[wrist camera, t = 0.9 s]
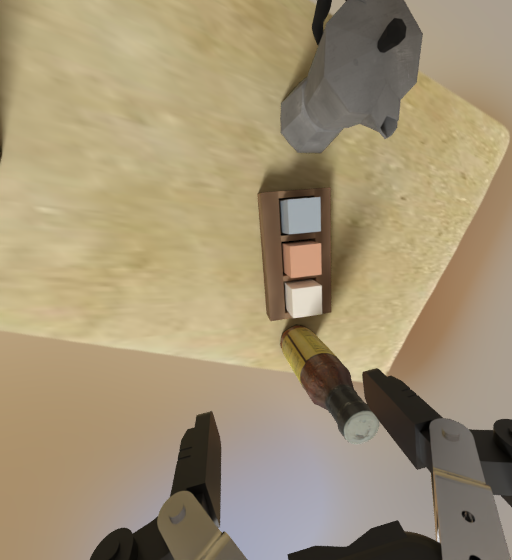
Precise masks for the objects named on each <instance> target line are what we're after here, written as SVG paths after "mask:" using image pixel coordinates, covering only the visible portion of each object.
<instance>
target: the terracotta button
mask: <svg viewBox="0 0 512 560" xmlns="http://www.w3.org/2000/svg"><path fill="white" fill-rule="evenodd" d="M282 249H283V267H284V273H285V274H287V275H288V276H289V277H290V278H298V277H306V276H314V275H322V268H321V243H318V242H314V241H301V242H292V243H282Z"/></svg>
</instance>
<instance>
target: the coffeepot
mask: <svg viewBox="0 0 512 560" xmlns="http://www.w3.org/2000/svg"><path fill="white" fill-rule="evenodd" d="M331 2H332V0H317V5H316V9H315V15H314V19H313V23H312V31H313V34H314V37H315V40H316V42H317V45H318V48H317V51H316V54H315V57H314V59H313V62H312V65H311V68H310V70H309V73H308V76H307V77H306V78H305V79H304V80H302V81H301V82H300V83H299V84H298V85H297V86H296V87H295V89H294V90H293V91H292V92H291V93H290V94H289V95H288V96H287V97H286V99H285V100H284V101H283V102H282V103H281V118H280V120H281V133H282V135H283V136H284V137H285V138H286V140H287V141H288V143H289V144H290V145H291V146H292V147H293V148H294V149H295V150H296V151H297V152H298V153H321V152H322V151H323V150H324V149H325V148H326V147H327V146H328V145H329V144H330V143H331V142H332V141H333V140H334V139H335V137H336V136H337V135H338V134H339V133H340V132H341V131H342V130H343V128H349V127H352V126H355V125H357V124H362V125H364V126H366V127H369V128H371V129H373V130H375V131H377V132H379V133H380V134H381V135H382V136H383V137H384V139H386V138H388V137H390V136H391V135H392V134H393V133H394V131H395V130H396V128H397V121H398V120H399V111H400V100H401V99H402V98H403V97H404V95H405V94H406V93H407V92H408V91H409V90H410V89H411V88H412V87H413V86H414V85H415V84H416V83H417V75H418V67H419V59H420V51H421V43H422V35H423V33H422V32H421V30H420V28H419V26H418V24H417V23H416V21H415V19H414V17H413V16H412V14H411V12H410V10H409V8H408V7H407V5H406V3H405V2H404V0H346V2H345V3H344V4H343V5H342V7H341V8H340V9H339V10H338V11H337V12H336V13H335V14H334V16H333V17H332V18H331V19H330V20H329V21H328V22H327V23H326V27H325V29H324V32H323V22H324V20H325V18H326V17H327V14H328V12H329V10H330V7H331Z"/></svg>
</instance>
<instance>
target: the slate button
mask: <svg viewBox="0 0 512 560" xmlns="http://www.w3.org/2000/svg"><path fill="white" fill-rule="evenodd" d="M280 213H281V231H282V233H285V234H299V233H309V232H319V231H321V203H320V197H314V198H301V199H289V200H284V201H280Z"/></svg>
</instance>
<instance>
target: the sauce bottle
mask: <svg viewBox="0 0 512 560" xmlns="http://www.w3.org/2000/svg"><path fill="white" fill-rule="evenodd" d="M280 345H281V348H282V351H283V354H284V356H285V357H286V359H287V361H288V362H289V364H290V366H291V368H292V369H293V371H294V373H295V374H296V376H297V378H298V379H299V381H300V383H301V385H302V387H303V388H304V389H305V390H306V392H307V394H308V395H309V397H310V398H311V399H312V401H313V403H314V404H316V405H319V406H321V407H323V408H324V409H326V410H328V411H329V413H331V414H332V416H333V417H334V419H335V420H336V422H337V424H338V429H339V431H340V432H341V434H342V435H343V436H344V438H345V439H346V440H347V441H348V442H350V443H352V444H361V443H364V442H367V441H369V440H370V439H372V438H373V437H374V436H375V435H376V433H377V431H378V428H379V420H378V419H377V417H376V416H375V415H374V414H373V412H372V411H371V410H370V408H369V407H368V405H367V404H366V403H364V402H363V401H362V399H361V398H360V397H359V396H358V395H357V392H356V391H355V390H354V388H353V384H352V381H351V375H350V372H349V370H348V369H347V368H346V367H345V366H344V365H343V364H342V363H341V361H340V360H339V359H338V358H337V357H336V356H335V355H334V354H333V352H332V351H331V350H330V349H329V348H328V347H327V346H326V345H325V344H324V343H323V342H322V341H321V340H320V339H319V338H318V337H317V336H316V335H315V334H314V333H313V332H312V331H311V330H309V329H308V328H306V327H303V326H299V325H295V326H293V327H291V328H289V329H288V330H286V331H285V332H284V333H283V335H282V337H281V343H280Z"/></svg>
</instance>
